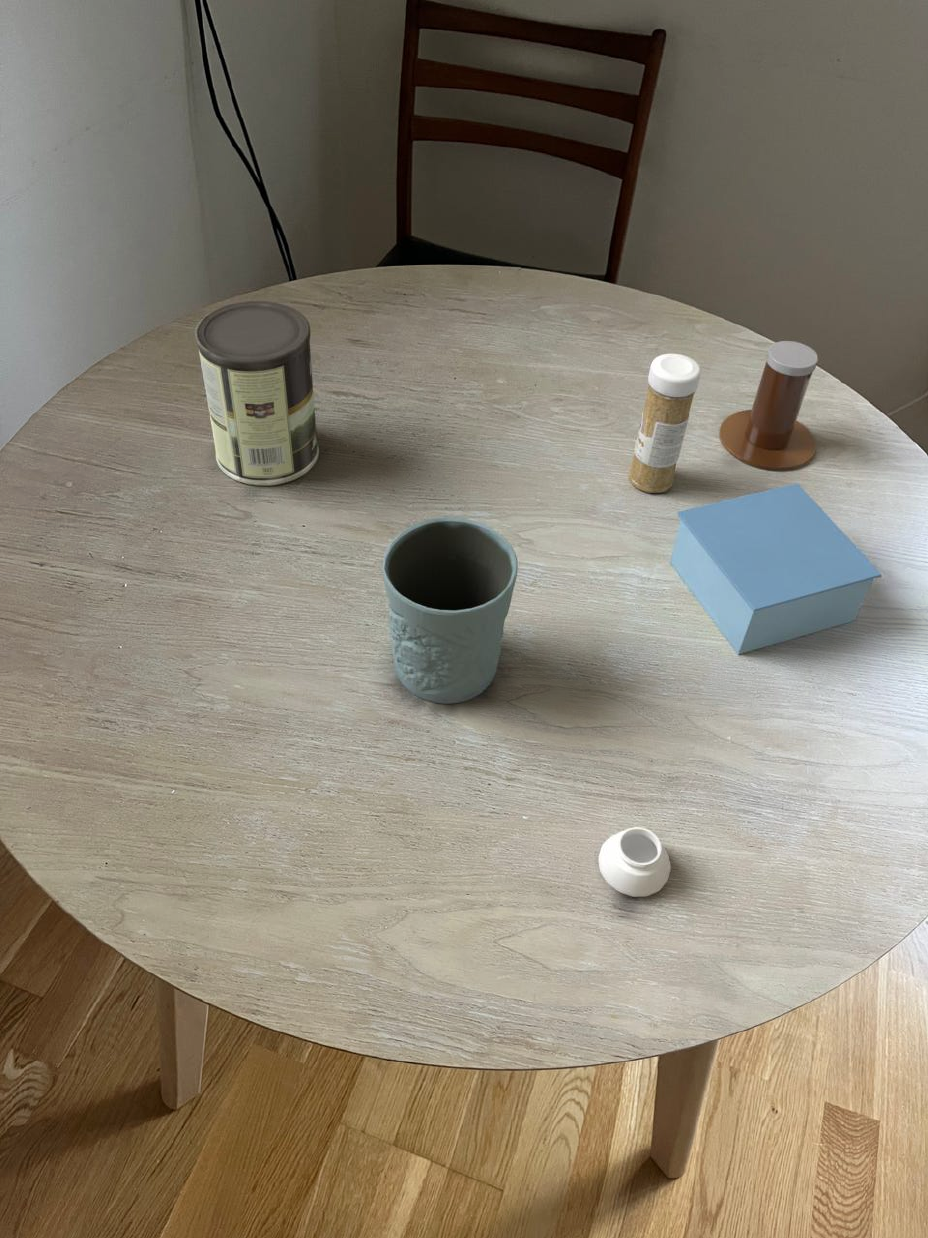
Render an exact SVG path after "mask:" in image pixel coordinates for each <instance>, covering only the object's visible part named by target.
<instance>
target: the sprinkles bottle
mask: <svg viewBox="0 0 928 1238" xmlns="http://www.w3.org/2000/svg"><path fill="white" fill-rule="evenodd" d="M701 370H702V369H701V367H700V365H699V363H698V362H696V361H695V359H693V358H691V357H689V356H686V355H684V354H680V353H665V354H664V353H663V354H660V355H658V356H657V357H655V358H654V359H653V360H652V361H651V364H650V368H649V373H648V376H647V382H648V387H647V393H646V398H645V401H644V406H643V409H642V414H641V418H640V423H639V427H638V431H637V437H636V441H635V445H634V453H633V457H632V462H631V467H630V469H629V471H628V480H629V482H630V483H631V485H632V486H633V487H634V488H636V489H637V490H639V491H642V492H645V493H650V494H659V493H665V492H666V491H668V490H669V489H670V488H671V487H672V486H673V484H674V474H675V471H676V467H677V462H678V461H679V457H680V454H681V450H682V446H683V442H684V439H685V434H686V430H687V426H688V422H689V419H690V412H691V409H692V408H691V407H692V403H693V399H694V396H695V393H696V391H697V389H698V388H699V387H698V386H699V383H700V379H701V375H702V371H701Z"/></svg>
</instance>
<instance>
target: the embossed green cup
mask: <svg viewBox="0 0 928 1238" xmlns="http://www.w3.org/2000/svg"><path fill="white" fill-rule="evenodd" d="M518 571H519V565H518V557H517V554H516V551H515V549H514V548H513V545H512V544H511V543H510V542H509V541H508V540H507V538H505V537H504V536H503V534H501V533H500V532H498V531H496V530H495V529H494V528H492V527H490V526H488V525H486V524H484V523H481V522H479V521H476V520H471V519H467V518H461V517H447V516H446V517H445V516H444V517H436V518H430V519H426V520H422V521H420V522H416V523H415V524H412V525H410V526H408V527H407V528H405V529H404V530H402V531H401V532H400V533H399V534H397V535H396V536H395V537H394V538H393V539H392V540H391V541H390V543H389V544H388V545H387V547H386V549H385V551H384V554H383V559H382V574H383V582H384V588H385V594H386V597H387V606H388V607H389V608H390V609H389V612H388V624H389V633H390V637H391V650H392V661H393V668H394V672H395V674H396V676H397V678H398V680H399V681H400V683H401V685H402V686H403V687H404V688H405V689H406V690H407V691H408V692H410V693H411V694H412V695H414V696H416V697H418V698H420V699H421V700H425V701H428V702H430V703H436V704H442V705H443V704H444V705H446V704H458V703H464V702H467V701H469V700H471V699H474V698H476V697H477V696H479V695H481V694H482V693H483V692H484V691H485V690H486V689H487V688H488V687H489V686H490V684H491V683H492V682H493V680H494V677H495V675H496V672H497V667H498V663H499V658H500V654H501V651H502V643H501V641H502V639H503V637H504V626H505V621H506V618H507V616H508V613H509V611H510V607H511V604H512V603H511V601H512V598H513V593H514V588H515V584H516V580H517V578H518Z"/></svg>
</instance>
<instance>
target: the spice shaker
mask: <svg viewBox="0 0 928 1238" xmlns="http://www.w3.org/2000/svg"><path fill="white" fill-rule="evenodd" d="M765 359H766V361H765V363H764V367H763V371H762V374H761V378H760V381H759V384H758V388H757V391H756V395H755V398H754V401H753V405H752V407H751V410H752V411H751V414H750V418H749V421H748V424H747V428H746V431H745V435H746V437H747V439H748V440H749V441H750V442H751V443H752V444H754V445H755V446H757V447H760V448H763V449H768V450H777V449H782V448H784V447H785V446H787V445H788V443H789V441H790V438H791V435H792V432H793V429H794V426H795V423H796V420H797V421H798V417H799V414H800V412H801V408H802V405H803V402H804V400H805V396H806V394H807V393H806V392H807V391H808V388H809V384H810V381H811V378H812V376H813V372H814V371H815V370H816V367H817V364H818V361H819V356H818V354H817V352H816V351H815V350H814V349H813V348H812V347H810V346H808V345H807V344H804V343H801V342H798V341H793V340H782V341H781V340H780V341H776V342H773V344H771V345H770V346H769V348H768V350H767V354H766V356H765Z"/></svg>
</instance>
